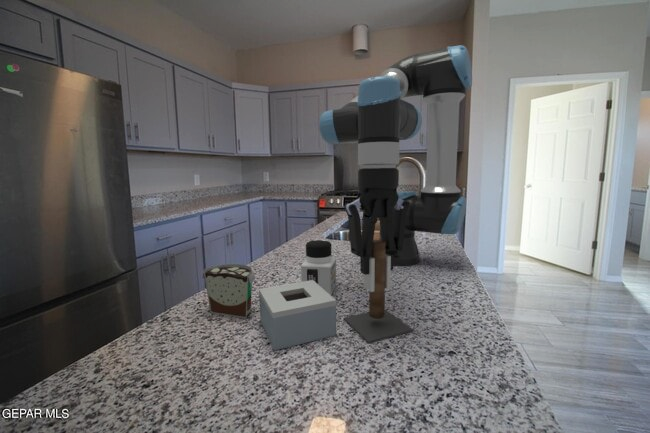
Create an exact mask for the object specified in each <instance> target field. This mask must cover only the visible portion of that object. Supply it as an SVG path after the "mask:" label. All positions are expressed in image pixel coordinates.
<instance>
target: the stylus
mask: <svg viewBox="0 0 650 433" xmlns="http://www.w3.org/2000/svg"><path fill="white" fill-rule="evenodd" d="M385 245H386V242H385V241H382V240H379V239H373V245H372V253H371V257H373V258H375V280H374V292H370V291H369V290H368V292H369V298H368V300H369V301H368V302H369V304H368V305H369V306H368V307H369V308H368V309H369V310H368V312H369V316H370V317H372V318H375V319H381V318H383V317H384V316H385V310H386V309H385V307H386V306H385V303H386V300H385V298H386V297H385V296H386V288H385Z"/></svg>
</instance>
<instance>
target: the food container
mask: <svg viewBox="0 0 650 433" xmlns="http://www.w3.org/2000/svg"><path fill="white" fill-rule="evenodd" d="M201 276H202V279H204V281H205V286H206V287H205V288H206V293H207V295H206V296H207V300H208V306H209V312H210V314H215V315H222V316H228V317H232V318H233V317H235V318H239V319H248V318H249V317H250V315H251V313H252V290H253V289H252V286H253V285H252V284H253V283H254V281H255V279H256V277H255V273H254V270H253V269H252V267H251V266H250V265H247V264H242V263H225V264H218V265H213V266H210V267H206V268H204V269H203V271H202V275H201Z"/></svg>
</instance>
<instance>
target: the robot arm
mask: <svg viewBox="0 0 650 433" xmlns="http://www.w3.org/2000/svg"><path fill="white" fill-rule="evenodd" d="M472 86H473V69H472V62H471V57H470V53H469V50H468V48H467V47H466V46H465V45H463V44H462V45H460V44H459V45H455V46H446V47H443V48H439V49H435V50H430V51H426V52H421V53H416V54H412V55H409V56H407V57H404V58H401V59H400V60H399V61H397V62H395V63H394V64H391V66H389V67H387V68H386V69H385V70H383V71H382V72H381V73H380V74H379V76H373V77H369V78H366V79H364V80H362V81H361V82H360V83H359V86H358V90H357V91H358V92H357V95H356V97H354V98H353V99H351V100H350V101H349V102H347V103H346V104H345V105H344V106H341V108H337V109H334V108H333V109H330V110H326V111H324V112H323V113H322V114H321V115H320V118H319V121H318V128H319V132H320V136H321V138H322V139H323V141H325V142H326V143H329V144H343V143H344V144H345V143H356V142H357V143H358V144H357V152H358V153H357V165H358V166H361V168H359V169H358V170H357V187H358V193H357V195H356V200H354V201H352V202H350V203H347V202H346V203H345V204H344V206H343V207H344V210H345V212H346V214H347V219H348V220H347V221H348V230H349V231H348V232H349V246H350V252H351V254H353V255H355V256H357V257H359V258H360V261H359V262H360V269H359V270H360V272H361V274H363V288H364V289H366V290H367V291H368V292H369V291H370V292H374V280H375V258H373V257H371V253H372V245H373V240H374V239H375V238H374V235H375V229H376V224H377V223H378V220H379V236H378V240H382V241H385V242H386V245H385V290H388V289H391V275H392V274H391V271H393V270H394V266H411V265H416V264H418V263H419V262H420V251H419V249H418V245H417V242H416V238H415V232H418V233H419V232H421V233H431V234H439V235H456V234H457V233H458V232H460V230H461V228H462V225H463V222H464V219H465V216H466V215H465V214H466V210H467V198H466V197H464V196H462V195H461V193H462V191H461V189H460V188H459V187H458V186H457V184H456V182H457V165H458V164H457V163H458V162H457V161H458V159H457V158H458V135H459V134H458V133H459V116H460V115H459V111H460V103H461V101H462V100H463V99H464V98H465V96H466V90H469V89H471V87H472ZM416 96H417V97H418V96H422V101H424V103H425V104H426V105H427V135H426V137H427V138H426V167H425V168H426V171H425V172H426V174H425V179H426V180H425V186H423V187H422V189H421V190H420V195H417V193H416V192H417V191H415V190H411V191H410V190H407V191H401V192H399V191H397V189H398V187H399V181H400V176H399V174H400V173H399V172H400V170H399V169H398V168H396V167H397V166H398V165H400V141H405V140H410V139H413V138H414V137H415V136H416V135H417V134H419V132H420V130H421V128H422V125H423V118H422V113H421V112H420V110H419V109H418V108H417V107H416V106H415V105H414V104H413V103H411V102H408V101H406V100H404V98H409V97H416ZM361 210H362V221H363V223H362V224H361V216H360V212H361ZM361 225H362V226H361Z"/></svg>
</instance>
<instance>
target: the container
mask: <svg viewBox="0 0 650 433" xmlns="http://www.w3.org/2000/svg"><path fill="white" fill-rule="evenodd" d="M305 256H306V257H305V258H306V259H305V260H304V262H303V263H302V264H301V265H300V280H301V281H300V282H304V281H310V280H314V281H315V282H316V283H317V284H318V285H319V286H320V287H321V288H323V289H324V290H325V291H326V292H327V293H328V294H329V295H331V296H332V294H333V292H334V290H335V288H336V286H337V259H336V257H332V243H331V242H330V241H328V240H326V239H312V240H310V241H308V242H306V243H305Z"/></svg>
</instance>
